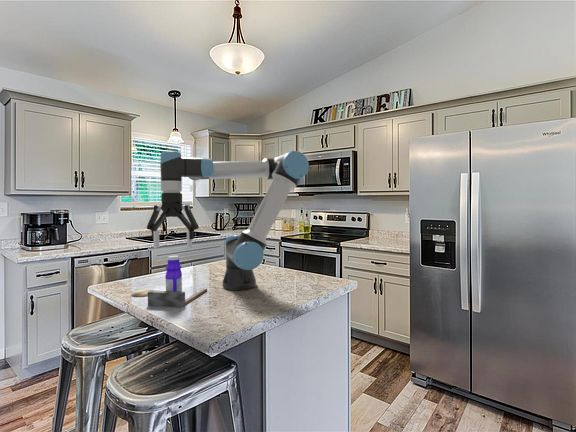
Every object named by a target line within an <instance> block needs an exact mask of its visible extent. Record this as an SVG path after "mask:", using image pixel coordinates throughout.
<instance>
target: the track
mask: <svg viewBox="0 0 576 432" xmlns="http://www.w3.org/2000/svg"><path fill="white" fill-rule="evenodd" d="M150 290H151V291H149V292H148V296H147V306H149V307H151V306H153V307H166V308H167V307H169V308H170V307H172V308H183V307H185V306H186V305H187V304H189V303H191V302H192V301H194V300H196V299H197V298H199V297H200V296H202V295H203V294H205V293H207V292H208V288H203V289H201V290H200V291H197V292H195V293H194V294H192V295H191V296H189V297H187V298H186V291H182V292H179V291H166V290H154V289H150ZM153 290H154V291H153Z"/></svg>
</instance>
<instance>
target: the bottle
mask: <svg viewBox="0 0 576 432" xmlns="http://www.w3.org/2000/svg"><path fill="white" fill-rule="evenodd" d="M165 269H166V273H165V291H179V292H183V288H182V287H183V277H182V275H183V273H182V266H181V264H180V255H168V256H167V265H166V267H165Z"/></svg>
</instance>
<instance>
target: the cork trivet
mask: <svg viewBox="0 0 576 432" xmlns="http://www.w3.org/2000/svg"><path fill="white" fill-rule="evenodd" d="M151 290H153V291H155V290H154V289H140V290H135V291H133V292H131V296H132V297H135V298H143V297H148V292H149V291H151Z"/></svg>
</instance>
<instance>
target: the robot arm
mask: <svg viewBox="0 0 576 432" xmlns="http://www.w3.org/2000/svg"><path fill="white" fill-rule="evenodd" d="M159 166H160V192H161V197H160V198H161V205H159V204H155V205H153V212H152V214H151V216H150V218H149V220H148V223H147V226H146V229H147V230H150V231H151V239H152V240H153V249H158V248H160V246H161V245H160V230H159V228H160V226H162V224H163V222H164V221H165V219H167V218H170V217H172V218H178V219H179V221H180V222H182V224H183V225H184V226H185V228H186V229H187V231H186V249H192V248H193V240H194V239H195V231H196V230H199V229H200V226H199V224H198V222H197V221H196V218H195V217H194V215H193V212H192V209H191V204H186V205H183V193H181V192H182V191H183V185H182V184H183V182H182V181H183V178H189V179H190V180H192V181H199V180H218V179H219V180H223V179H226V180H227V179H250V178H251V179H253V178H254V179H255V178H263V179H265V180H272V181H271V183H270V185H269V187H268V190H267V191H266V193H265V195H264V197H263V198H262V201H261V203H260V205H259V206H258V208H257V210H256V212H255V214H254V216H253V218H252V220H251V222H250V224H249V225H248V228H247V229H245V230H243V231H241V233H240V235H239V234H238V235H228V236H227V237H226V238H225V266H226V268H225V271H224V272H225V273H224V276H223V279H222V288H223V289H226V290H231V291H242V290H243V291H244V290H251V289H254V288H255V287H257V279H256V276H255V273H254V271H253V270H254V269H256V268H258V267H259V266H260V265H261V264H262V262H263V260H264V257H265V256H264V251H265V249H266V246H267V243H268V242H267V237H268V235H269V234H270V232H271V229H272V227H273V225H274V224H275V221H276V220H277V217H278V215H279V214H280V211H281V210H282V208H283V206H284V204H285V202H286V200H287V198H288V196H289V194H290V192H291V191H292V189H295V188H297V186H298V184H299V182H300V180H301V179H303V178H304V177H305V176H306V175H307V174H308V172H309V168H310V164H309V160H308V158H307V156H306V155H305V154H304V153H302V152H301V151H297V150H290V151H287V152H286V153H283V154H281V155H279V156H276V157H275V156H274V157H270V158H264V159H263V160H238V161H237V160H235V161H233V160H232V161H227V160H226V161H213V159H212V158H205V157H183V156H182V153H181V152H180V151H176V150H164V151H162V152H161V153H160V165H159ZM161 211H162V212H161ZM182 211H184V212H185V214H184V213H183V212H182ZM160 212H161V214H160ZM185 215H186V216H185ZM158 216H159V217H158ZM187 218H188V219H187Z"/></svg>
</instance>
